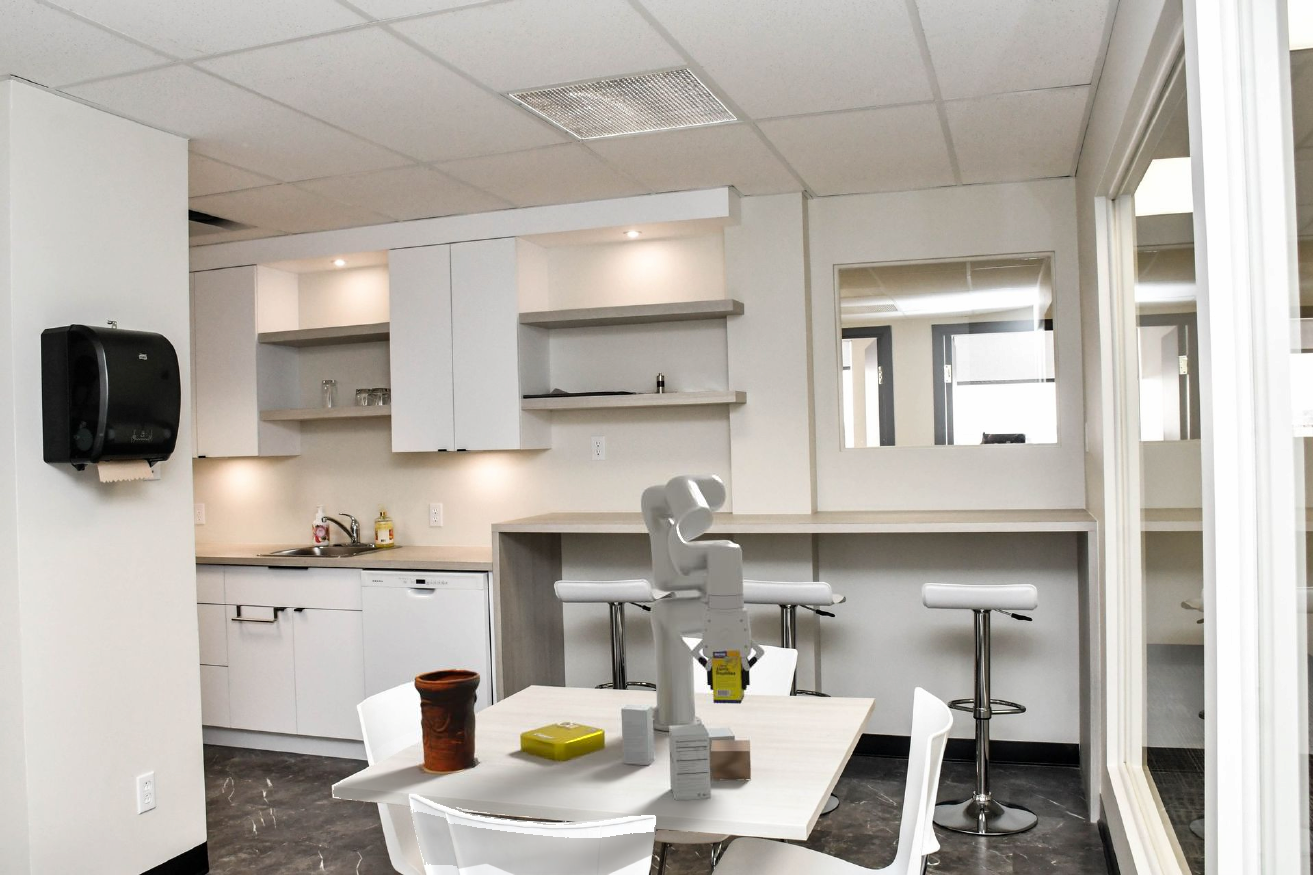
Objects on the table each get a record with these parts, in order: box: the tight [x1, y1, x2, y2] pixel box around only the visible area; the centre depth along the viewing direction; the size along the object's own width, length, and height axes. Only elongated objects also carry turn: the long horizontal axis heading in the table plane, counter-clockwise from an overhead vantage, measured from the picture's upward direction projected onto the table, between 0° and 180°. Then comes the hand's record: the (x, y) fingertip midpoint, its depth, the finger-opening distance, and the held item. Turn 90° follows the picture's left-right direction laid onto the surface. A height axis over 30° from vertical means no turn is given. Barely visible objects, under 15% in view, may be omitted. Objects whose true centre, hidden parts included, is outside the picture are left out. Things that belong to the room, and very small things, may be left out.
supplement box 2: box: [712, 651, 745, 705], centre depth 209 cm, size 6×6×11 cm
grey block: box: [706, 727, 736, 764], centre depth 219 cm, size 7×7×6 cm
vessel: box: [413, 668, 481, 775], centre depth 222 cm, size 14×14×20 cm
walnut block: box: [710, 739, 752, 781], centre depth 209 cm, size 8×8×6 cm
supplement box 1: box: [668, 723, 712, 801], centre depth 197 cm, size 7×7×13 cm
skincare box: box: [620, 704, 655, 766], centre depth 219 cm, size 6×4×12 cm
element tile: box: [520, 721, 606, 762], centre depth 231 cm, size 15×15×5 cm
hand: (728, 687), depth 209 cm, fingers closed on supplement box 2, 6 cm apart
